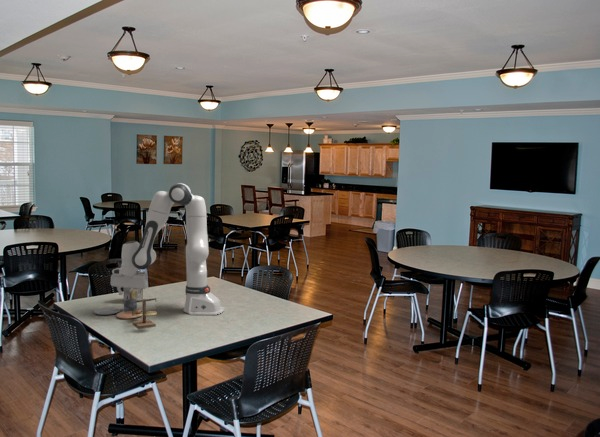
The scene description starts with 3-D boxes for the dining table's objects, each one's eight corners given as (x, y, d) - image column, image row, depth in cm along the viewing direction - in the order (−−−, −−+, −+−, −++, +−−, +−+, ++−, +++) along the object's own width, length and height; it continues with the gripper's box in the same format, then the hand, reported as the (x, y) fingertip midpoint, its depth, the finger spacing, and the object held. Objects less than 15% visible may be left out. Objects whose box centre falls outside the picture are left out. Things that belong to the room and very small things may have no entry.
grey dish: (123, 310, 285) (123, 308, 285) (112, 316, 272) (112, 314, 272) (101, 308, 287) (101, 306, 287) (89, 314, 274) (88, 312, 274)
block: (136, 309, 287) (136, 298, 287) (132, 311, 283) (132, 301, 282) (128, 309, 288) (128, 298, 288) (123, 311, 283) (123, 300, 283)
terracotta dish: (146, 313, 279) (146, 311, 279) (135, 320, 267) (135, 318, 266) (123, 312, 281) (123, 310, 281) (111, 318, 268) (111, 316, 268)
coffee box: (136, 299, 310) (136, 272, 308) (143, 301, 306) (143, 274, 304) (123, 302, 302) (123, 274, 301) (129, 304, 298) (129, 276, 297)
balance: (160, 329, 252) (160, 298, 251) (144, 332, 248) (144, 301, 246) (143, 318, 271) (143, 289, 269) (128, 320, 266) (128, 291, 264)
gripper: (150, 271, 285) (149, 295, 286) (115, 268, 288) (114, 292, 289) (145, 273, 279) (144, 298, 280) (109, 270, 282) (108, 295, 283)
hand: (128, 295), depth 284 cm, fingers open, 8 cm apart
